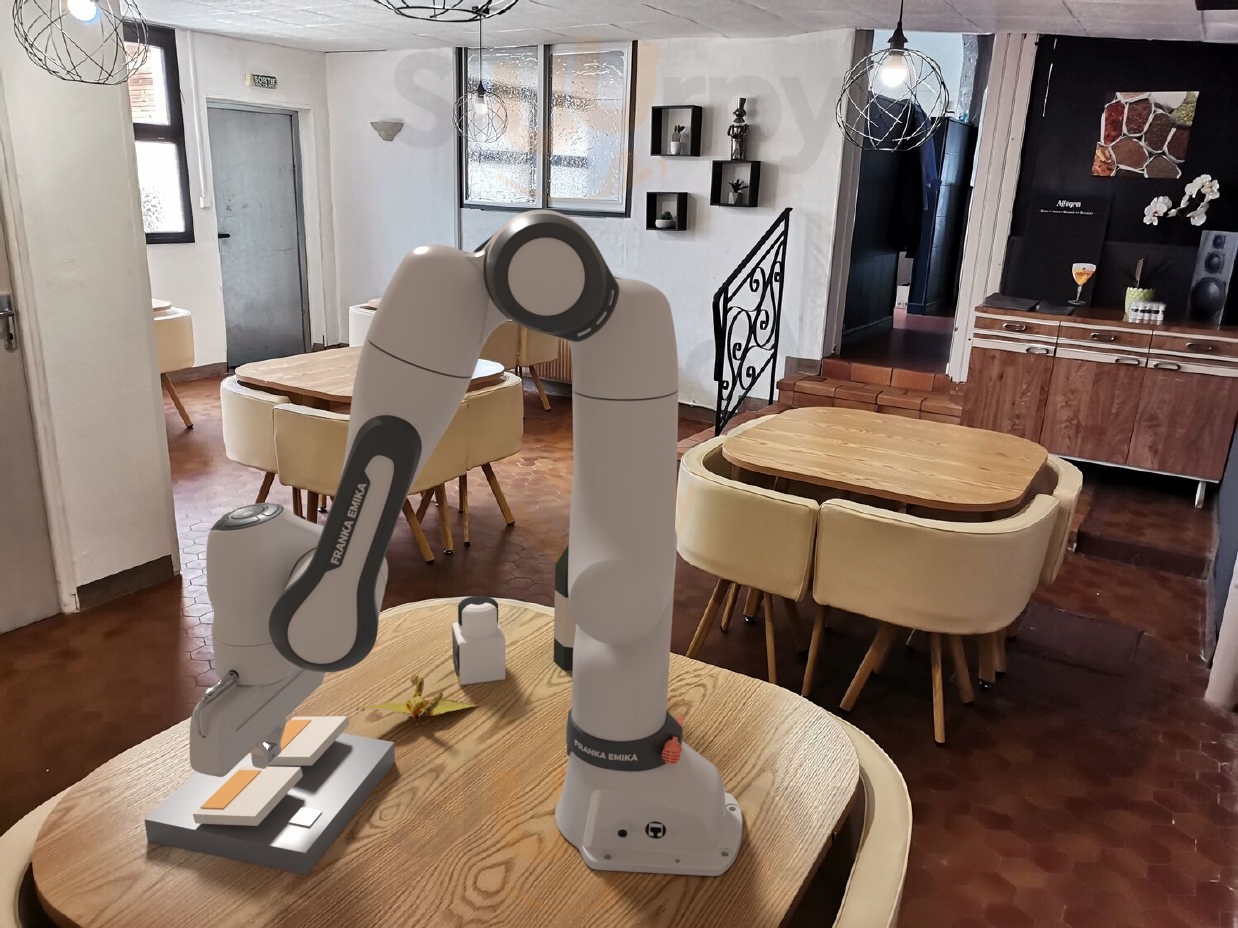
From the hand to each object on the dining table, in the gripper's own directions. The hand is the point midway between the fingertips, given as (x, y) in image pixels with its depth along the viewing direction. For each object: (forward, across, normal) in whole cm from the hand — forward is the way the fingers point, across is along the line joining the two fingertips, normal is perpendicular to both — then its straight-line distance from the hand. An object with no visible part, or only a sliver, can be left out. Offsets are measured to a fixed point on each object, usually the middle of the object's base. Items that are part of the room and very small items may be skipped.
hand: (267, 760), depth 102 cm
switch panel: (+10, +6, +3) cm, 12 cm away
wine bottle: (+10, +49, -23) cm, 55 cm away
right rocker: (+5, +11, +3) cm, 13 cm away
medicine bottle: (+10, +41, -9) cm, 43 cm away
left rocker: (+5, 0, +3) cm, 6 cm away
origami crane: (+10, +26, -6) cm, 29 cm away
